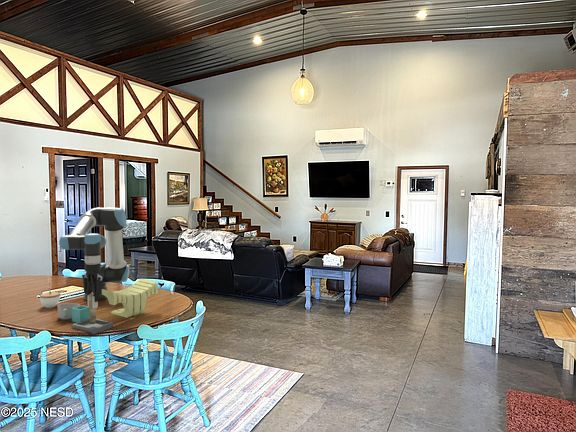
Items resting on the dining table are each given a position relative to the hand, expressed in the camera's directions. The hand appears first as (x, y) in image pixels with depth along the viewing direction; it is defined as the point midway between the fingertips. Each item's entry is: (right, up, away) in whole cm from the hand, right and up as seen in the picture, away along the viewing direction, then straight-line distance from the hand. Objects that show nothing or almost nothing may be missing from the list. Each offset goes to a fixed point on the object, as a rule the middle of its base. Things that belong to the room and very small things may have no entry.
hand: (92, 307), depth 206 cm
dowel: (0, -9, 0) cm, 9 cm away
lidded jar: (-45, -8, +37) cm, 59 cm away
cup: (-11, -10, +10) cm, 18 cm away
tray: (0, -11, +1) cm, 11 cm away
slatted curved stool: (+9, -10, +25) cm, 29 cm away
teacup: (-21, -10, +13) cm, 27 cm away
